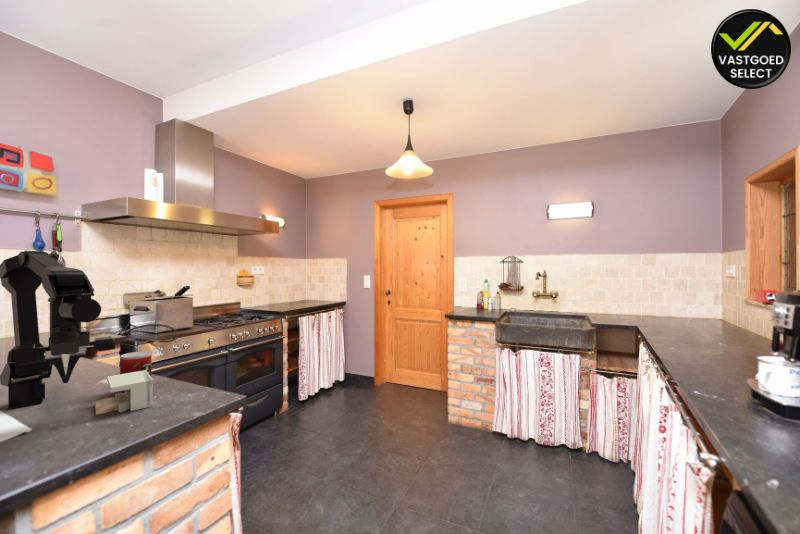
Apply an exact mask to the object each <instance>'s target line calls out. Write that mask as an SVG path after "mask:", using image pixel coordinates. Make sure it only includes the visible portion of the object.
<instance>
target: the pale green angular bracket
mask: <svg viewBox="0 0 800 534" xmlns="http://www.w3.org/2000/svg"><path fill="white" fill-rule="evenodd" d="M106 377H107V378H106V381H107V384H108V387H109V390H110V393H115V394H114V397H117V396H122V395H127V394H130V401H127V402H124V403H121V404H119V410H118V413H123V412H126V411H128V410H130V412H134V411H137V410H141V409H145V408H150V407H153V385H154V379H153V378H152V375H151V376H150V375H149V373H148V372H147V371H146V370H143V371H137V372H131V373H125V374H120V373H119V374H114V375H108V376H106ZM122 390H125V393H121V391H122ZM117 392H120V393H117Z"/></svg>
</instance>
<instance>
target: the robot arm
mask: <svg viewBox="0 0 800 534" xmlns="http://www.w3.org/2000/svg"><path fill="white" fill-rule="evenodd" d="M0 283H1V286H2V288H4V289H5V290H6V291H7V292H8V293H9V294H10V299H11V310H12V322H13V337H14V346H13V347H12V348H11V349H9V351H8V352H7V353H8V354H7V357H6V363H5V365H4V367H3V369H2V371H1V372H0V373H1V374H0V385H2V386H5V387H7V388H8V389H7V391H8V396H7V397H8V398H7V403H8V404H7V406H6V410H11V409H16V408H21V407H28V406H32V405H39V404H42V403H43V401H44V400H45V399H46V382H43V380H44V379H49V378H51V375H52V370H53V367H54V368H55V369H56V371H57V372H58V375H59V377H60V379H61V381H62V383H63V384H68V383H69V381H70V380H71V376H72V374H73V372H74V369H75V366H76V365H77V363H78V362H79V360H80V358H83V357H86V355H87V354H86V352H87V350H92V349H95V350H97V351H98V352H103V351H111V350H115V349H116V340H115V338H114V337H112V335H111V336H103V337H94V340H93V341H90V338H91V337H90V336H91V335H90V333H91V332H90V330H88V331H87V330H86V331H82V323H90V322H93V321H95V320H96V319H98V318H99V317H100V316H101V315H100V314H101V313H102V306H101V305H100V303H99V302H98V301H97V300H95V299H93V298H92V297H94V296H95V293H94V292H95V289H94V287H93V285H92V283H91V282H90V279H89V277H88V275H87V274H86V273H85V271H83V270H82V269H80V268H79V269H78V268H75V267H73V268H72V267H67V266H64V265H63V264H61V263H59V262H58V261H57V260H56V259H54V258H53V257H52V256H50V255H49V253H48V252H47V251H43V250H23V251H20V252H19V253H18V254H17V255H15V256H10V257H8V258H5V259H4V260H3V261H1V263H0ZM40 286H42V288H43V290H44V291H45V292H46V294H47V296H48V299H47V302H49V337H48V345H47V346H44V345H43V344H42V343H41V342H40V329H39V320H38V319H39V318H38V305H37V296H36V295H37V293H36V292H37V290H38V289H39V287H40ZM67 354H69V356H68V363H67V368H66V369H65V364H64V359H63V355H67Z"/></svg>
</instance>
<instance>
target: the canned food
mask: <svg viewBox="0 0 800 534" xmlns="http://www.w3.org/2000/svg"><path fill="white" fill-rule="evenodd" d="M152 356H153V355H152V352H151V351H146V350H145V351H133V352H127V353H125V354H121V355H120V357H119V374H125V373H131V372H137V371H143V370H146V371H147V372H148V373H149V375H150V376H151V377H152V376H153V375H152V373H153V372H152V371H153V370H152V367H153V366H152V363H153V362H152V361H153V358H152ZM120 393H125V390H122V391H120Z"/></svg>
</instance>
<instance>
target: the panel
mask: <svg viewBox="0 0 800 534" xmlns="http://www.w3.org/2000/svg"><path fill="white" fill-rule="evenodd" d="M127 401H130V394H127V395H122V396H117V397H115V396H113V397H108V398H103V399H97V400H95V401H94V405H95V415H101V414H104V413H106V414H107V413H109V412H114V411H119V404H121V403H124V402H127Z"/></svg>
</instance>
